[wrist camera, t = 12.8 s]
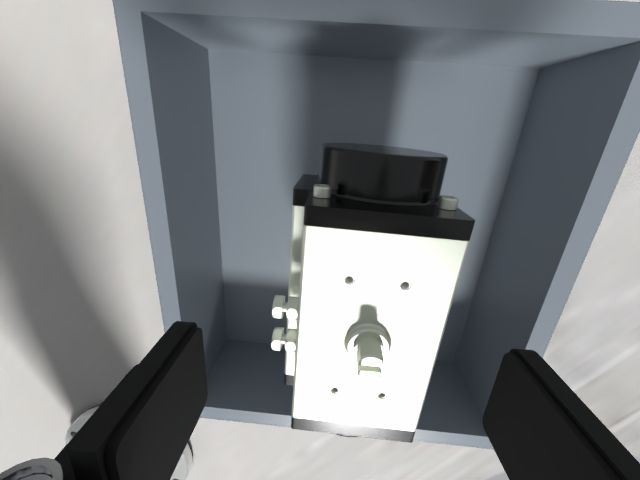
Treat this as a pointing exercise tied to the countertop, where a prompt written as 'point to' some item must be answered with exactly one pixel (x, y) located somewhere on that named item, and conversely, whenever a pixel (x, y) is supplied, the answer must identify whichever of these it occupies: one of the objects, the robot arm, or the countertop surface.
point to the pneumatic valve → (368, 288)
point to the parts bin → (376, 129)
